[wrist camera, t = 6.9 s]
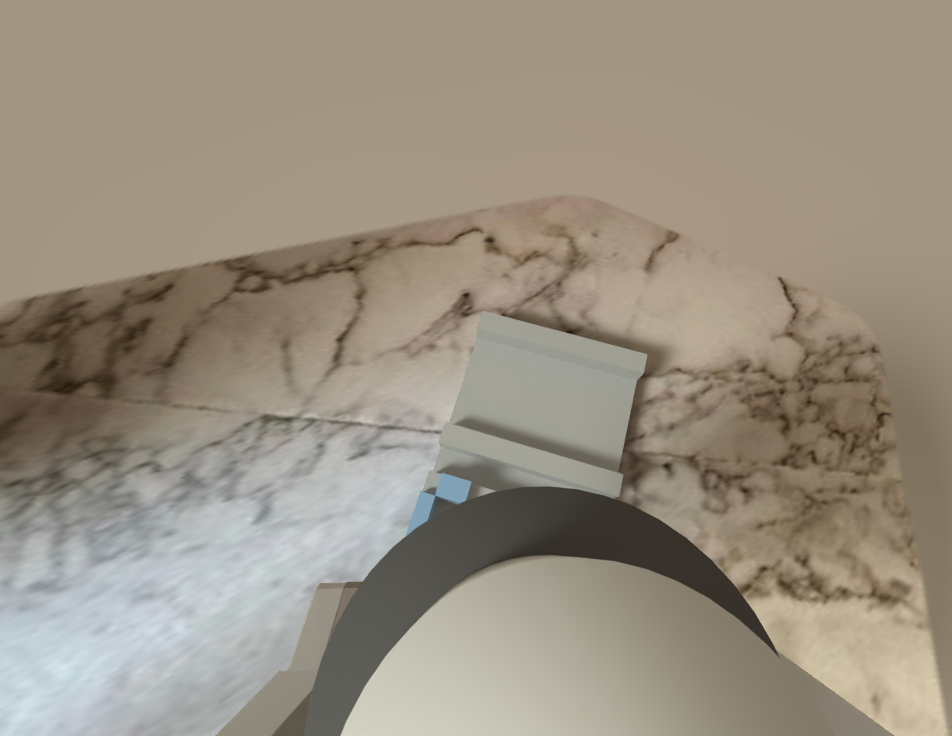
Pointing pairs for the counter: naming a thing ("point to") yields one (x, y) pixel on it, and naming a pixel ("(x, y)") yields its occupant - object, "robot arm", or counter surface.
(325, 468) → the counter surface
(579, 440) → the white holder base
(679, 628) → the grey bottle
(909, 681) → the counter surface
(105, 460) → the counter surface
